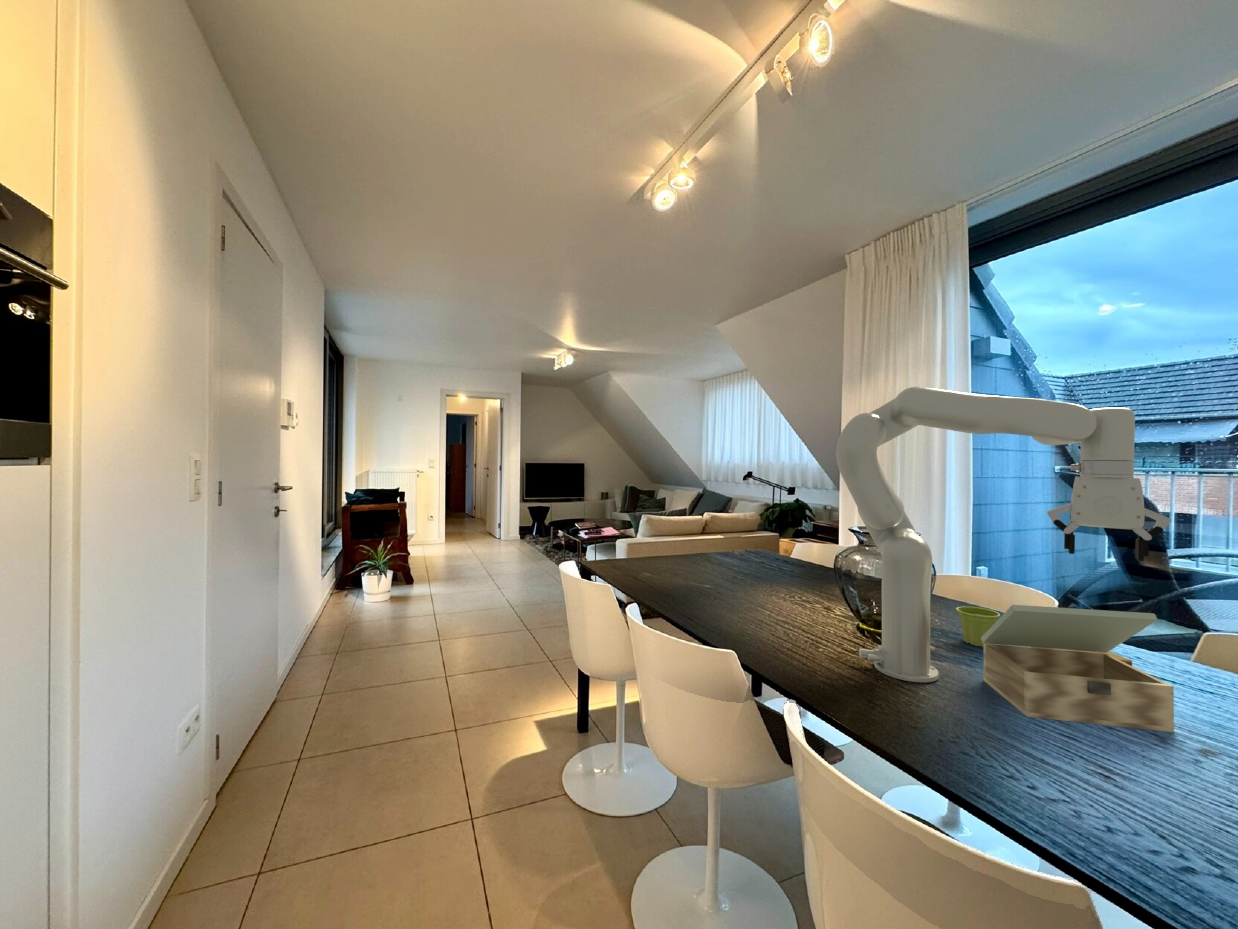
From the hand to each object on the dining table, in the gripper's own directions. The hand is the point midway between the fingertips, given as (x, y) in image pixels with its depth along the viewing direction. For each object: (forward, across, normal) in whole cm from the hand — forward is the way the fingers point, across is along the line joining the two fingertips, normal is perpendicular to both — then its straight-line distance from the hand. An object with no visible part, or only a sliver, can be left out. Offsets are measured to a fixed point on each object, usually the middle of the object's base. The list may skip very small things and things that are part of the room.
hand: (1104, 556), depth 96 cm
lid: (+16, -6, -4) cm, 17 cm away
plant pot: (+29, -20, +25) cm, 44 cm away
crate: (+29, -5, -5) cm, 30 cm away
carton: (+29, -1, +20) cm, 35 cm away
